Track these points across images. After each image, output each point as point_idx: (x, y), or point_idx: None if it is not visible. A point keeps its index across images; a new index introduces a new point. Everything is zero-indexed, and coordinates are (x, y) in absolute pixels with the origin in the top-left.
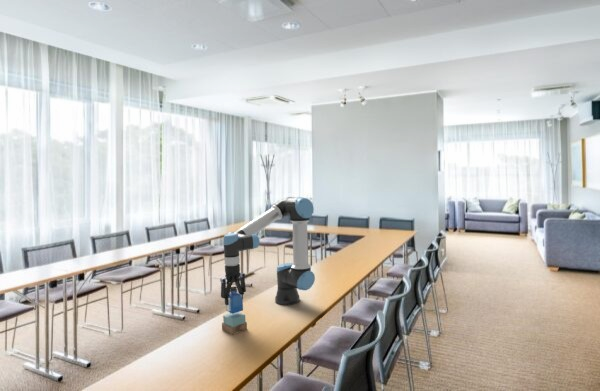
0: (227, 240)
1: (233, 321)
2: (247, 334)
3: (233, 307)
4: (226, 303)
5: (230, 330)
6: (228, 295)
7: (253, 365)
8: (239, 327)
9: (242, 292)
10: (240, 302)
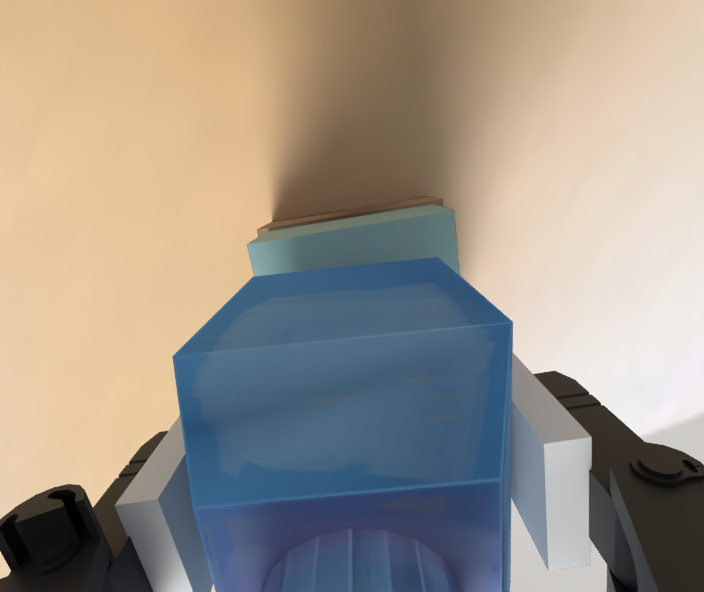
0: None
1: (428, 210)
2: (316, 110)
3: (434, 283)
4: (583, 390)
5: None
6: (676, 539)
7: None
8: (348, 213)
9: (35, 573)
10: (262, 316)
